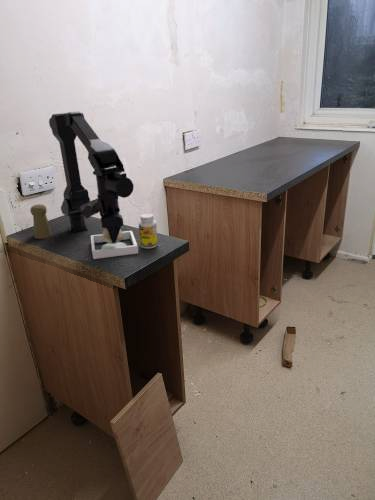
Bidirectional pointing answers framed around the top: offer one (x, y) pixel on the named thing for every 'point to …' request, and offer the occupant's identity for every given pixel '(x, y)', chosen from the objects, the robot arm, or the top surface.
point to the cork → (40, 222)
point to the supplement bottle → (148, 231)
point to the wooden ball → (107, 236)
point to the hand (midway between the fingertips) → (113, 238)
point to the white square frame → (114, 246)
